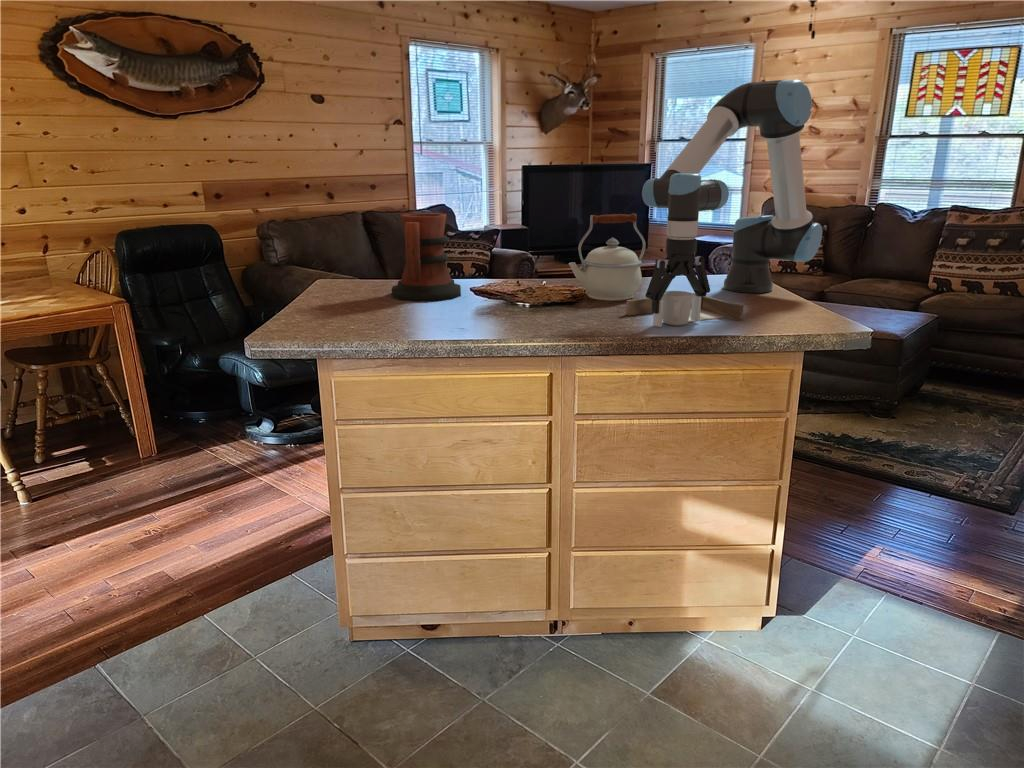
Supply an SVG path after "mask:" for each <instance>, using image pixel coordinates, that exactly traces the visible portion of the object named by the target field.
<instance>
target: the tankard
mask: <svg viewBox="0 0 1024 768" xmlns="http://www.w3.org/2000/svg"><path fill="white" fill-rule="evenodd" d="M399 218H400V221H401V224H402V225H401V226H402V229H403V234H404V235H403V236H401V242H402V245H404V246H405V253H403V255H402V262H403V263H404V267H403V271H402V275H401V279H400V280H398V281H397V284H396V285H393V286H392V287H391V299H395V300H398V301H404V302H413V303H432V302H433V303H434V302H443V301H450V300H453V299H454V300H455V299H457V298H460V297H461V296H462V293H461V292H462V289H461V284H458V283H455V279H453V278H452V277H451V274H450V272H449V267H448V265H447V263H446V262H449V257H448V253H446V252H444V245H447V244H448V243H447V242H448V241H447V240H448V237H447V235H445V229H446V222H447V213H434V212H432V213H431V212H419V213H418V212H417V213H404V214H403V213H402V214H400V217H399Z"/></svg>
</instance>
